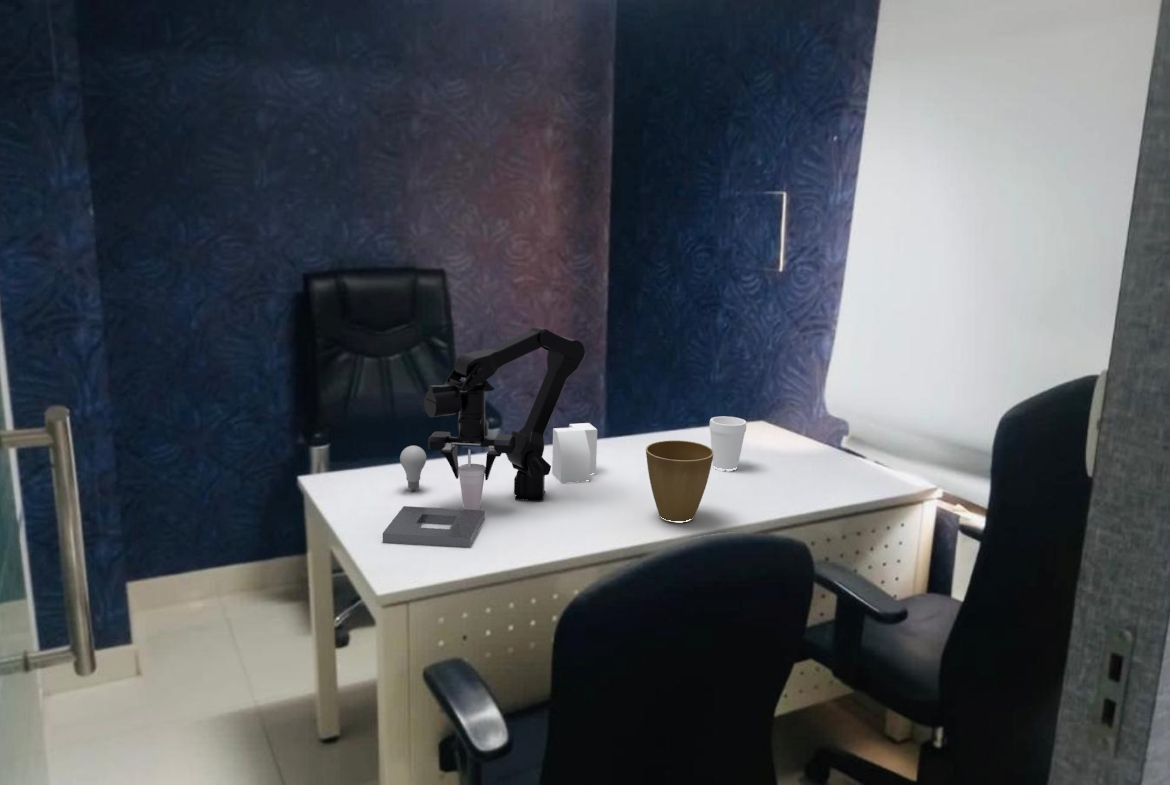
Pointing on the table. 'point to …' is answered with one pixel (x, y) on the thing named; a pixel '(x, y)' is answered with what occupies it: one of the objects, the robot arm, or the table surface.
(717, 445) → the foam cup
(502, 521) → the table surface
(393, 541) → the square plate with hole
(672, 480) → the plant pot
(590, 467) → the white block
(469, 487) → the smoothie
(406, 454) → the lightbulb
